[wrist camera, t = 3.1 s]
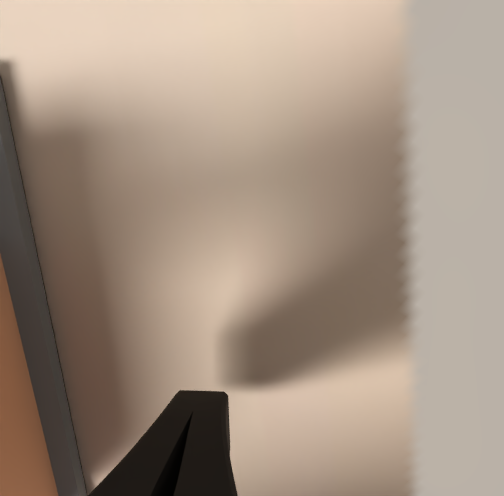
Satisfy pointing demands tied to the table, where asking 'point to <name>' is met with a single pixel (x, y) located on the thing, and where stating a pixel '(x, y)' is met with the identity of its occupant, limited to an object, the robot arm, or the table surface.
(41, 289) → the mat
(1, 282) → the t block
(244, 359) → the table surface
